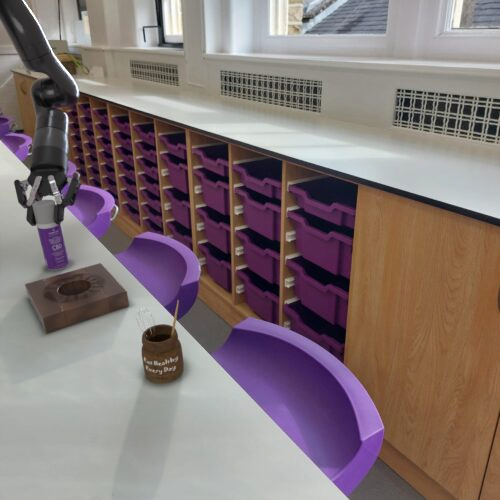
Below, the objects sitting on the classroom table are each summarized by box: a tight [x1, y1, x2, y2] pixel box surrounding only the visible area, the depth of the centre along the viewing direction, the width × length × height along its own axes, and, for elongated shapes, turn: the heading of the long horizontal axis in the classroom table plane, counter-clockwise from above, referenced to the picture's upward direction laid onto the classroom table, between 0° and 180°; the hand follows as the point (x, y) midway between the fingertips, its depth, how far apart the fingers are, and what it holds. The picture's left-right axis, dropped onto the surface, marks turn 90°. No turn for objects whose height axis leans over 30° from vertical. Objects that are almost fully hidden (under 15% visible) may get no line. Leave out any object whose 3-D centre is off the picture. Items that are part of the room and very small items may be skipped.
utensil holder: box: [135, 299, 185, 384], centre depth 71 cm, size 6×6×12 cm
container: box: [32, 199, 70, 272], centre depth 105 cm, size 5×5×15 cm
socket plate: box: [24, 262, 130, 335], centre depth 93 cm, size 15×15×4 cm
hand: (44, 223), depth 102 cm, fingers closed on container, 4 cm apart
